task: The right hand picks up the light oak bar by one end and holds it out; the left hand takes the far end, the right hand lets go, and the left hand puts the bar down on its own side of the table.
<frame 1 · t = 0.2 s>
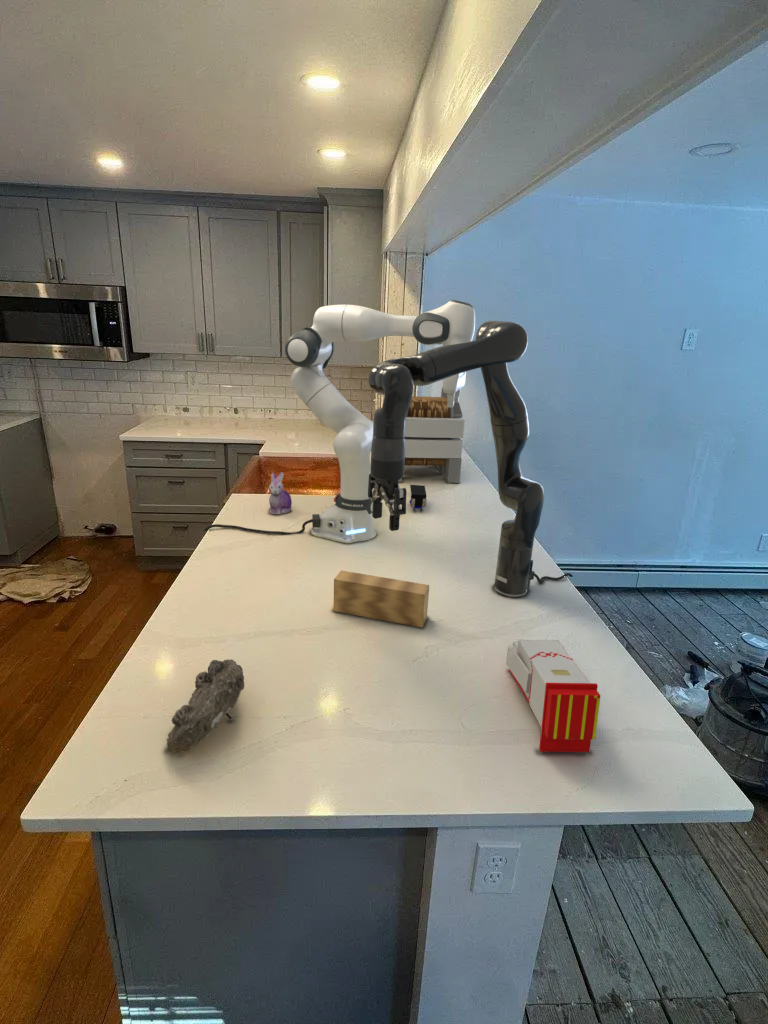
left hand: (452, 404, 174), 48 cm above the counter, tool pointing down, fingers open, 8 cm apart
right hand: (385, 523, 131), 28 cm above the counter, tool pointing down, fingers open, 8 cm apart
figurine character: (417, 507, 227), on the counter
bar: (380, 614, 147), on the counter
figurine: (280, 511, 216), on the counter
toy: (542, 703, 116), on the counter
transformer: (419, 473, 275), on the counter
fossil: (212, 717, 108), on the counter
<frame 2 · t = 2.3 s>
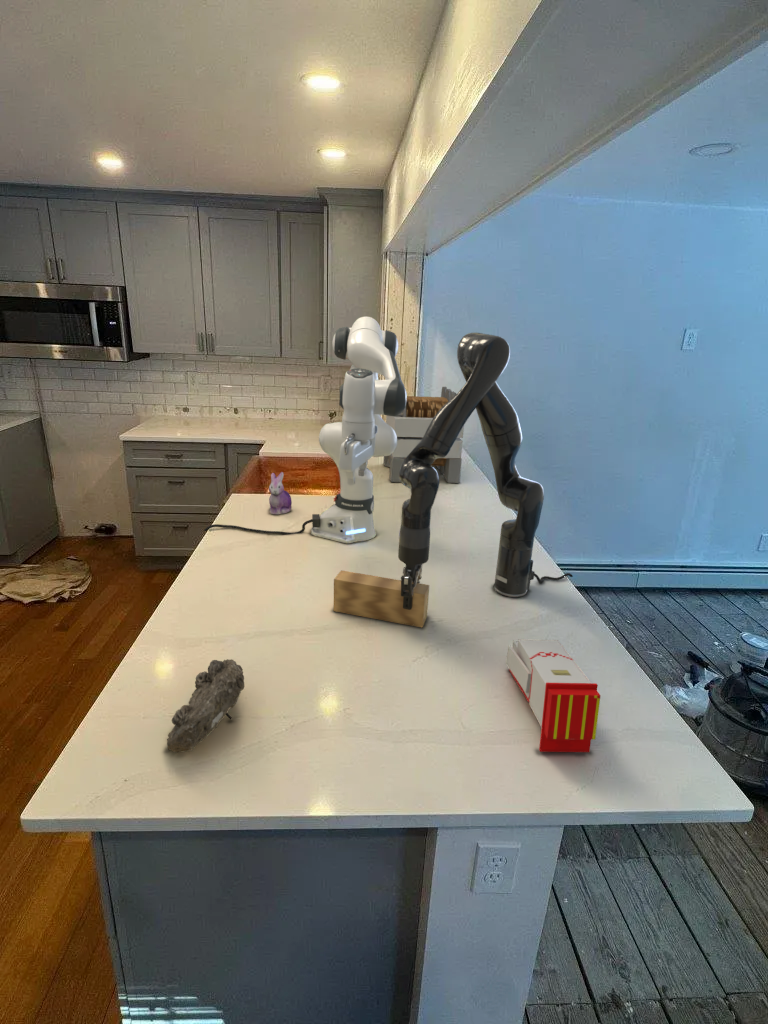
left hand: (356, 479, 158), 29 cm above the counter, tool pointing down, fingers open, 8 cm apart
right hand: (410, 602, 144), 5 cm above the counter, tool pointing down, fingers closed on bar, 5 cm apart
bar: (380, 614, 147), on the counter, touching right hand
everything else where it was.
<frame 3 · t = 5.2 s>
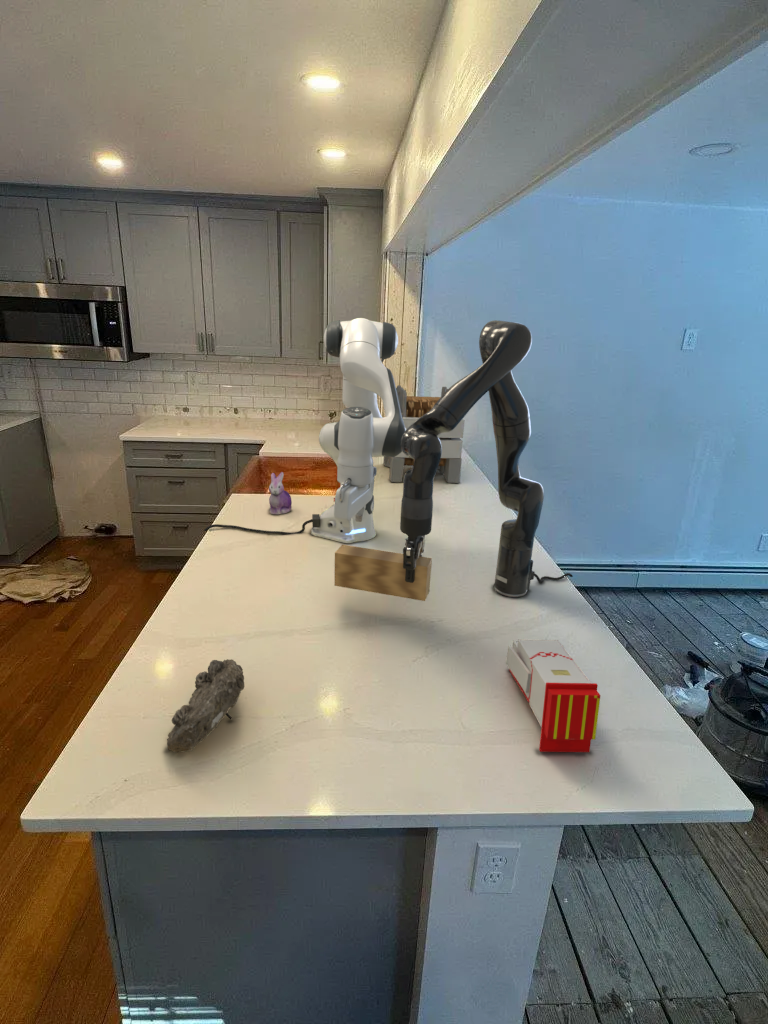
left hand: (353, 526, 145), 22 cm above the counter, tool pointing down, fingers open, 8 cm apart
right hand: (412, 576, 141), 12 cm above the counter, tool pointing down, fingers closed on bar, 5 cm apart
bar: (381, 588, 145), point 7 cm above the counter, touching right hand
everything else where it was.
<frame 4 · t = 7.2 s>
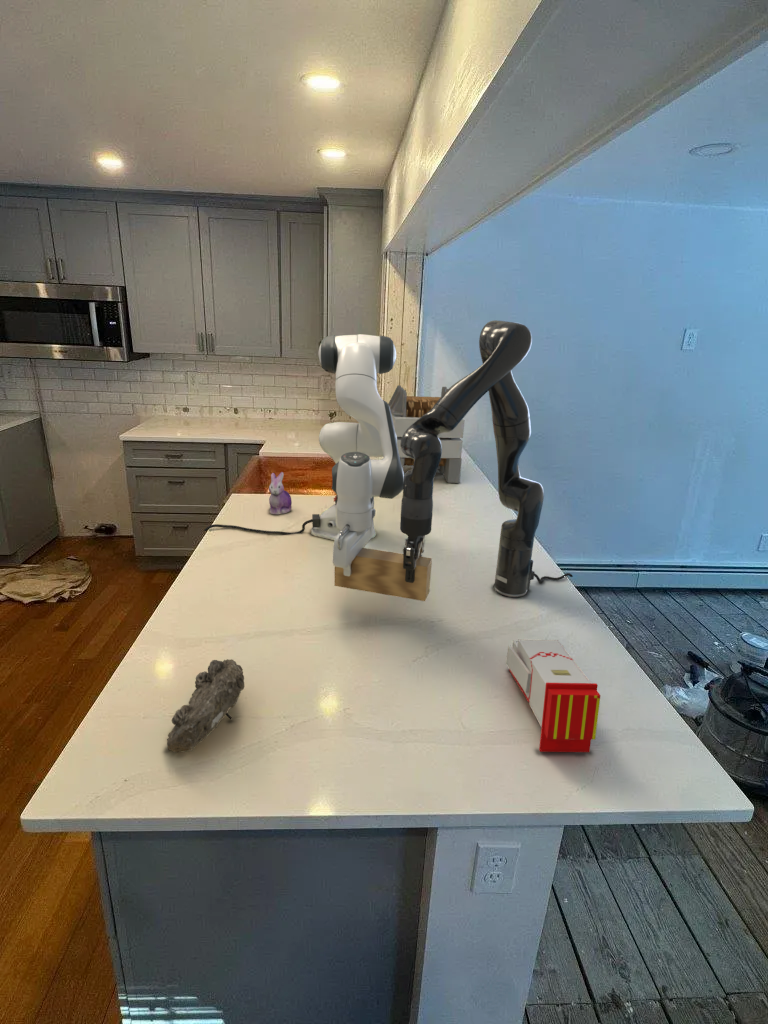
left hand: (352, 569, 145), 12 cm above the counter, tool pointing down, fingers closed on bar, 5 cm apart
right hand: (412, 576, 141), 12 cm above the counter, tool pointing down, fingers closed on bar, 5 cm apart
bar: (381, 588, 145), point 7 cm above the counter, touching left hand, right hand
everything else where it was.
when the right hand's fingers open (12 cm above the counter, at t = 8.4 s): bar stays where it is, held by the left hand.
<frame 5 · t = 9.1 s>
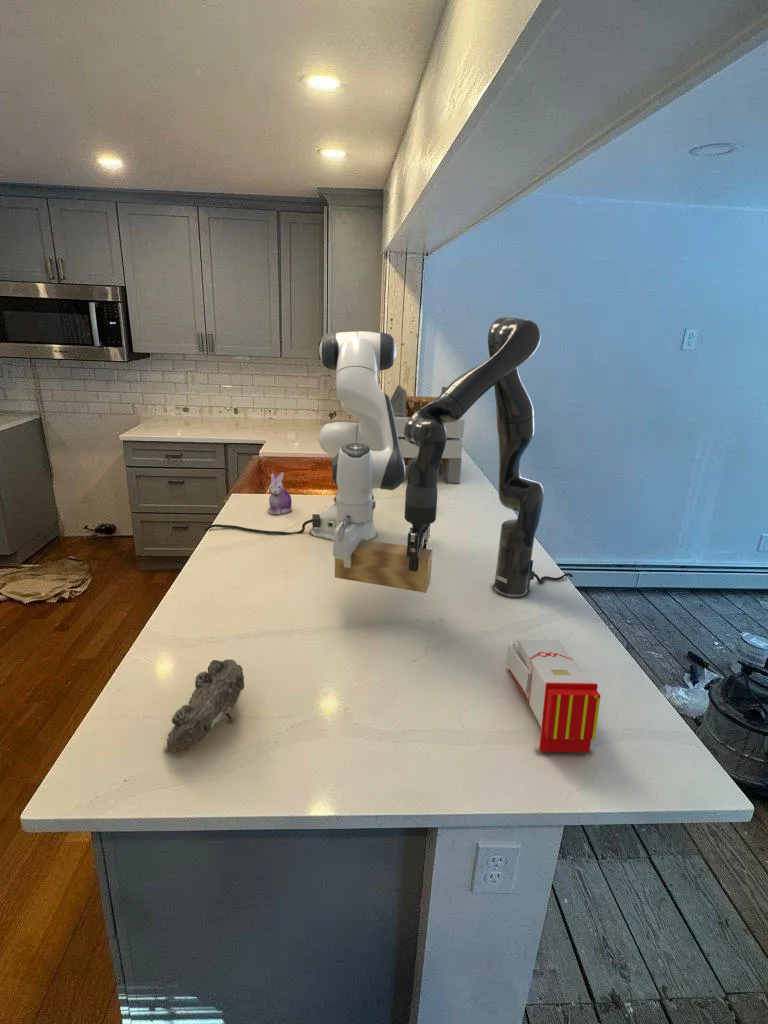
left hand: (352, 561, 145), 14 cm above the counter, tool pointing down, fingers closed on bar, 5 cm apart
right hand: (417, 563, 140), 16 cm above the counter, tool pointing down, fingers open, 8 cm apart
bar: (382, 580, 144), point 10 cm above the counter, touching left hand
everything else where it was.
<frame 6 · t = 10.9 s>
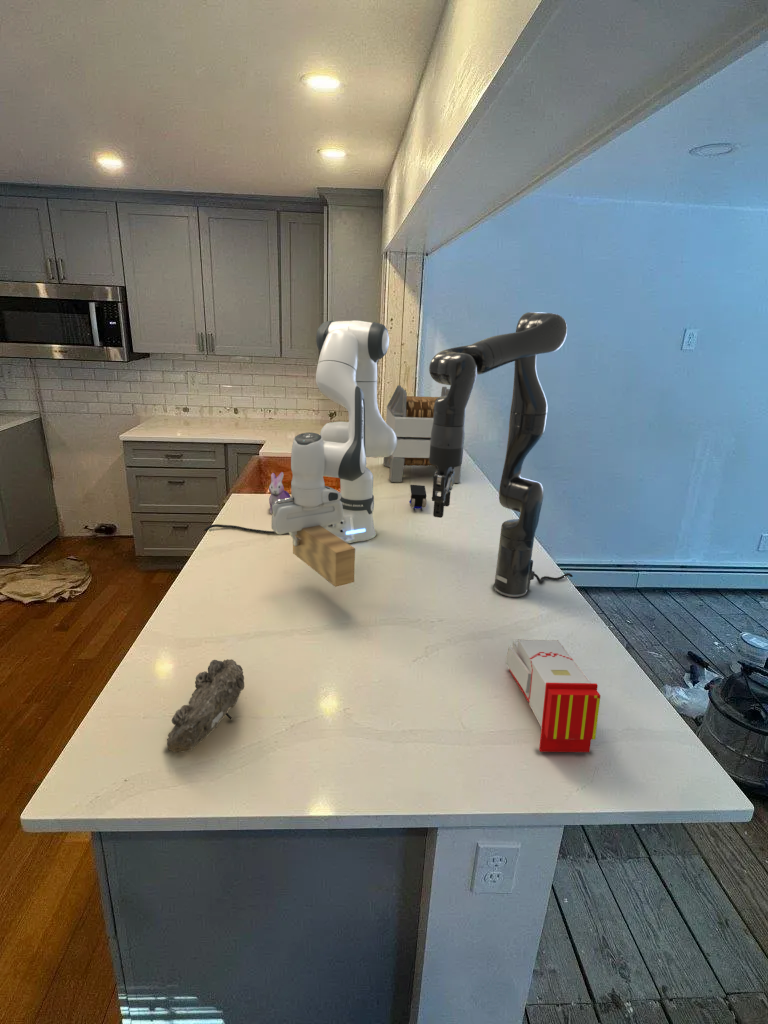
left hand: (308, 542, 156), 13 cm above the counter, tool pointing down, fingers closed on bar, 5 cm apart
right hand: (441, 511, 133), 30 cm above the counter, tool pointing down, fingers open, 8 cm apart
bar: (322, 567, 151), point 9 cm above the counter, touching left hand
everything else where it was.
when the left hand's fingers open (6 cm above the counter, at t = 12.3 s): bar drops 2 cm, on the counter.
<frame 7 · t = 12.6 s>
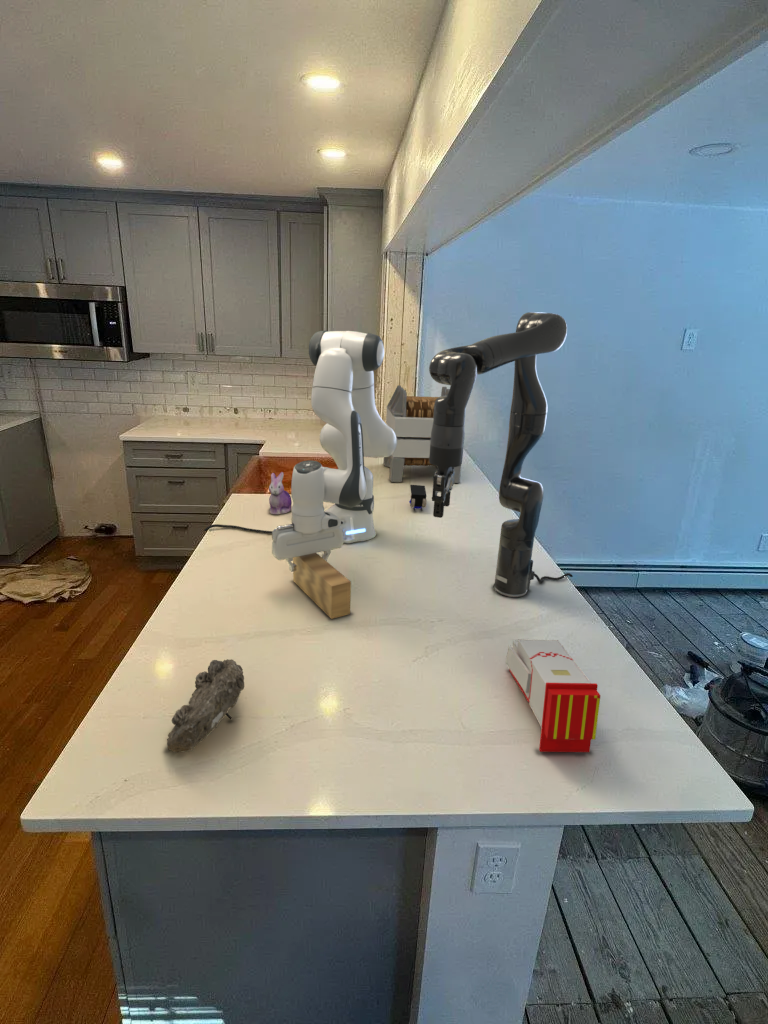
left hand: (308, 567, 158), 6 cm above the counter, tool pointing down, fingers open, 8 cm apart
right hand: (441, 511, 133), 30 cm above the counter, tool pointing down, fingers open, 8 cm apart
bar: (320, 596, 154), on the counter
everything else where it was.
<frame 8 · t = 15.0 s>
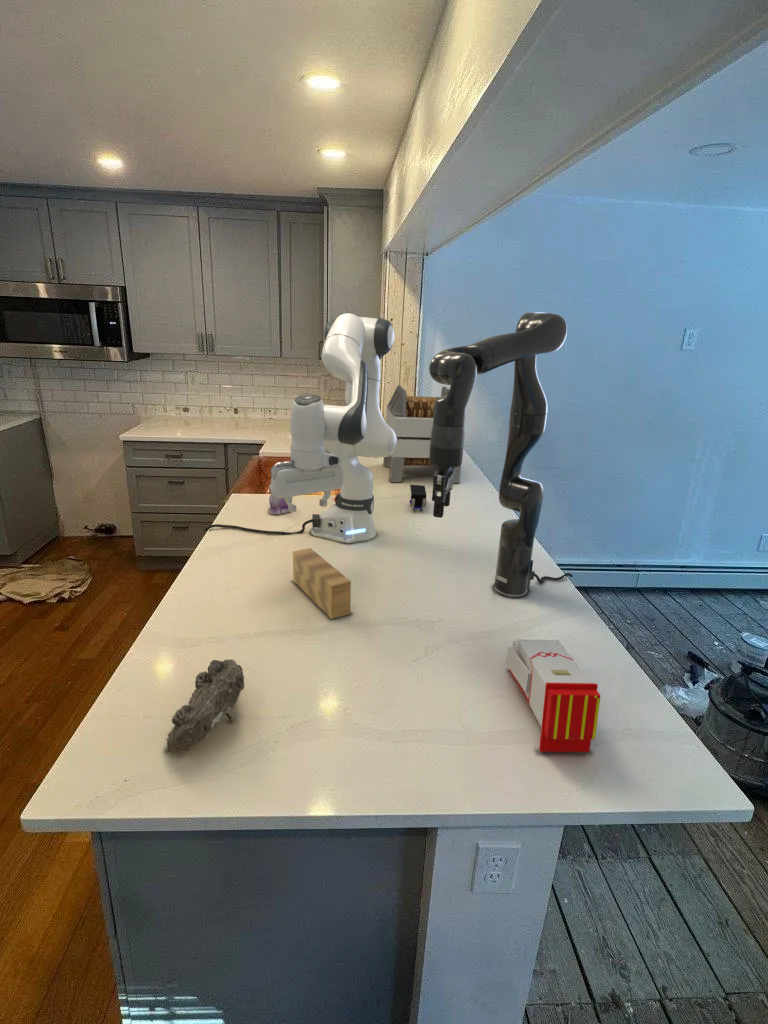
left hand: (308, 508, 152), 23 cm above the counter, tool pointing down, fingers open, 8 cm apart
right hand: (441, 511, 133), 30 cm above the counter, tool pointing down, fingers open, 8 cm apart
nothing on the counter moved.
at the end: bar inside the target area (7.4 cm from its centre), on the counter; the left hand is holding nothing; the right hand is holding nothing; bar at rest at the end (0.0 cm/s) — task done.
